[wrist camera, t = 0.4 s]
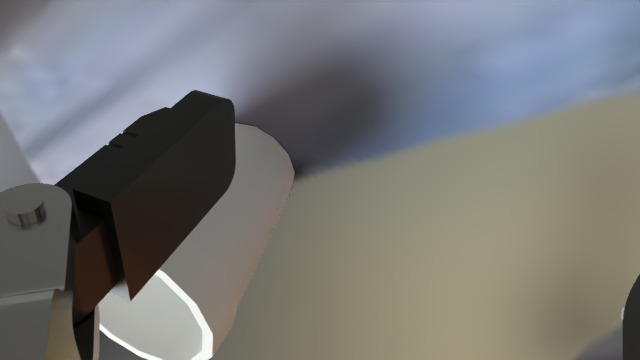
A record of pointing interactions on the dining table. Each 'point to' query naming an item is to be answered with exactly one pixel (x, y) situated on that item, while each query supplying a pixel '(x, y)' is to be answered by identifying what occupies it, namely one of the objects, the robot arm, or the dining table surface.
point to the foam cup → (207, 262)
